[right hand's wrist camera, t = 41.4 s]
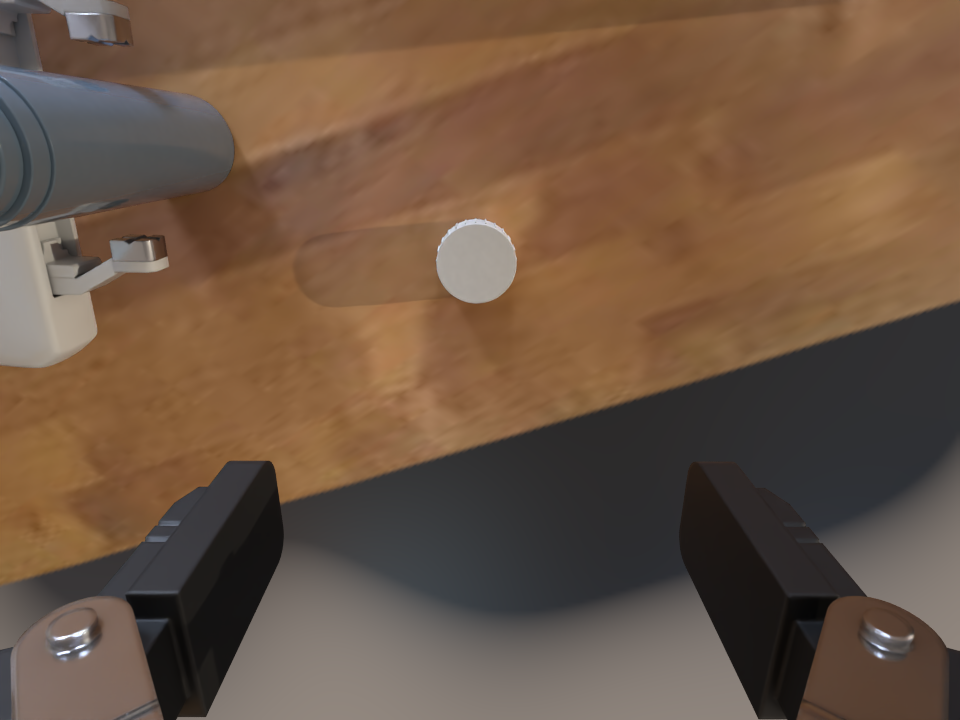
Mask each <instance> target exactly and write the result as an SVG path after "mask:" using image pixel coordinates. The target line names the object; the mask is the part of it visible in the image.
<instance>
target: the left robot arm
mask: <svg viewBox="0 0 960 720" xmlns="http://www.w3.org/2000/svg"><path fill="white" fill-rule="evenodd" d="M51 8H52V9H54V10H55V11H57V12H59V13H60V14H62V15H64V16H66V20H67V25H68V29H69V34H70V38H71V39H73V40H76V41H80V42H87V43H88V44H93V45H97V46H113V45H114V44H115V45H119V46H124V47H131V46H134V45H133V37H132V30H131V23H130V16H129V10H128V7H127V6H124V5H121V4H119V3H116V2H113V1H108V0H0V65H6V66H12V67H19V68H25V69H31V70H38V71H43V68H42V63H41V58H40V53H39V49H38V44H37V39H36V34H35V30H34V25H33V20H32V15H31V14H49V13H50V12H51ZM109 241H110V247H111V254H112V258H111V259H109V260H107V261H105V262H104V263H101V259H100V258H99V257H85V256H82V253H81V248H80V244H79V239H78V234H77V229H76V225H75V220H74V218H69V219H64V220H59V221H54V222H49V223H44V224H39V225H34V226H29V227H24V228H19V229H14V230H8V231H1V232H0V365H2V366H12V367H24V368H43V367H48V366H51V365H54V364H57V363H59V362H62V361H64V360H66V359H68V358H70V357H71V356H73V355H75V354H76V353H78V352H79V351H81V350H82V349H83V348H84V347H85V346H87V345H88V344H89V343H90V342H91V341H92V340H93V339H94V338H95V337H96V335H97V324H96V319H95V315H94V310H93V305H92V301H91V296H90V291H92V290H94V289H97V288H99V287H102V286H104V285H107V284H108V283H110V282H112V281H113V280H115V279H117V278H118V277H120V276H122V275H123V274H125V273H127V272H134V273H150V272H157V271H160V270H162V269H165V268H167V267H169V263H168V256H167V250H166V244H165V238H164V236H163V235H152V236H148V237H147V236H146V235H135V234H130V235H127V236H123V237H122V238H116V239H112V240H109Z"/></svg>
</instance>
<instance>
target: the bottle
mask: <svg viewBox="0 0 960 720" xmlns="http://www.w3.org/2000/svg"><path fill="white" fill-rule="evenodd" d="M233 161H234V142H233V138H232V134H231V132H230V129H229V127H228V125H227V123H226V121H225V120H224V119H223V117H222V116H221V115H220V113H219V112H218V111H217V110H216V109H215V108H214V107H213V106H211V105H210V104H209V103H207V102H206V101H204V100H202V99H200V98H198V97H196V96H193V95H189V94H184V93H177V92H171V91H165V90H158V89H152V88H146V87H139V86H133V85H127V84H120V83H114V82H108V81H101V80H95V79H88V78H82V77H76V76H69V75H63V74H57V73H50V72H44V71H38V70H31V69H25V68H19V67H12V66H6V65H0V232H1V231H8V230H14V229H19V228H24V227H29V226H34V225H39V224H44V223H49V222H54V221H59V220H64V219H69V218H74V217H79V216H84V215H89V214H94V213H100V212H105V211H110V210H115V209H120V208H125V207H130V206H135V205H140V204H145V203H150V202H155V201H160V200H165V199H170V198H175V197H180V196H185V195H190V194H195V193H200V192H205V191H208V190H211V189H213V188H215V187H216V186H218V185H219V184H221V183H222V182H223V181H224V180H225V178H226V177H227V176H228V174H229V172H230V170H231V168H232V165H233Z"/></svg>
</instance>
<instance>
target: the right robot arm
mask: <svg viewBox="0 0 960 720" xmlns="http://www.w3.org/2000/svg"><path fill="white" fill-rule="evenodd" d="M283 538H284V532H283V522H282V515H281V508H280V501H279V494H278V487H277V480H276V473H275V469H274V466H273V464H272V462H270V461H229V462H227V463H226V465H225V466H224V467H223V468H222V470H221V471H220V472H219V474H218V475H217V476H216V477H215V479H214V480H213V481H212V483H211V484H210V485H209V486H208V487H198V488H196V489H195V490H193V491H192V492H190V493H189V494H187V495H186V496H184V497H183V498H181V499H180V500H178V501H177V502H175V503H174V504H173V505H172V506H171V508H170V509H169V510H168V511H167V512H166V514H165V515H164V516H163V517H162V518H161V520H160V521H159V524H158V526H155V527H154V528H153V529H152V530H151V532H150V533H149V534H148V535H147V536H146V538H145V542H141V544H140V545H139V546H138V547H137V548H136V550H135V551H134V552H133V553H132V554H131V556H130V557H129V558H128V559H127V560H126V562H125V563H124V564H123V565H122V566H121V568H120V569H119V570H118V571H117V572H116V574H115V575H114V576H113V577H112V578H111V580H110V581H109V582H108V583H107V584H106V586H105V587H104V588H103V589H102V590H101V592H100V593H99V594H98V595H97V596H96V597H89V598H85V599H81V600H78V601H75V602H72V603H69V604H67V605H64V606H62V607H60V608H58V609H56V610H54V611H52V612H50V613H49V614H47V615H45V616H44V617H42V618H41V619H39V620H38V621H37V622H35V623H34V624H33V625H32V626H31V627H29V628H28V629H27V630H26V631H25V632H24V633H23V634H22V636H21V637H20V638H19V639H18V641H17V642H16V644H15V645H14V647H11V648H7V649H3V650H0V720H176V719H177V717H206V715H207V713H208V711H209V709H210V707H211V705H212V703H213V701H214V699H215V696H216V694H217V692H218V690H219V688H220V686H221V684H222V682H223V679H224V677H225V675H226V673H227V671H228V669H229V667H230V665H231V663H232V660H233V658H234V656H235V654H236V652H237V650H238V648H239V646H240V643H241V641H242V639H243V637H244V635H245V633H246V631H247V629H248V626H249V624H250V622H251V620H252V618H253V616H254V614H255V612H256V610H257V607H258V605H259V603H260V601H261V599H262V597H263V595H264V593H265V590H266V588H267V586H268V584H269V582H270V580H271V578H272V576H273V574H274V572H275V569H276V567H277V565H278V563H279V560H280V557H281V553H282V548H283ZM679 540H680V550H681V555H682V558H683V561H684V564H685V566H686V568H687V570H688V572H689V575H690V577H691V579H692V581H693V583H694V585H695V587H696V589H697V591H698V593H699V595H700V598H701V600H702V602H703V604H704V606H705V608H706V610H707V612H708V614H709V616H710V618H711V621H712V623H713V625H714V627H715V629H716V631H717V633H718V635H719V637H720V639H721V641H722V644H723V646H724V648H725V650H726V652H727V654H728V656H729V658H730V660H731V662H732V664H733V667H734V669H735V671H736V673H737V675H738V677H739V679H740V681H741V683H742V685H743V688H744V690H745V692H746V694H747V696H748V698H749V700H750V702H751V704H752V706H753V708H754V711H755V713H756V715H757V717H758V719H787V720H960V651H957V650H953V649H950V648H946V646H945V644H944V642H943V641H942V639H941V638H940V637H939V636H938V635H937V633H936V632H935V631H934V630H933V629H932V628H931V627H929V626H928V625H927V624H926V623H925V622H923V621H922V620H921V619H919V618H918V617H916V616H915V615H913V614H911V613H910V612H908V611H906V610H904V609H902V608H900V607H898V606H896V605H893V604H891V603H888V602H885V601H882V600H879V599H875V598H871V597H867V596H866V595H865V593H864V592H863V591H862V590H861V589H860V587H859V586H858V585H857V584H856V583H855V582H854V580H853V579H852V578H851V577H850V576H849V574H848V573H847V572H846V571H845V570H844V568H843V567H842V566H841V565H840V564H839V563H838V561H837V560H836V559H835V558H834V557H833V555H832V554H831V553H830V552H829V551H828V549H827V548H826V547H825V546H824V545H823V544H822V543H819V539H818V538H817V536H816V535H815V534H814V533H813V532H812V530H811V529H810V528H809V527H806V526H805V522H804V521H803V520H802V519H801V517H800V516H799V515H798V514H797V513H796V511H795V510H794V509H793V508H792V507H791V505H790V504H788V503H787V502H785V501H784V500H782V499H781V498H779V497H778V496H776V495H775V494H773V493H772V492H770V491H768V490H767V489H765V488H755V487H754V485H753V484H752V483H751V482H750V480H749V479H748V478H747V476H746V475H745V474H744V473H743V471H742V470H741V469H740V468H739V466H738V465H737V464H736V463H734V462H693V463H692V464H691V465H690V467H689V470H688V475H687V482H686V489H685V496H684V503H683V510H682V517H681V524H680V532H679Z"/></svg>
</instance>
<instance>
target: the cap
mask: <svg viewBox="0 0 960 720" xmlns="http://www.w3.org/2000/svg"><path fill="white" fill-rule="evenodd" d="M437 252H438V255H437V258H436V262H437V272H438V276H439V279H440V281H441V283H442V285H443V286H444V287H445V289H446V290H447V291H448V292H449V293H450V294H451V295H453V296H454V297H456V298H457V299H459V300H462V301H464V302H468V303H485V302H489V301H491V300H494V299H496V298H498V297H499V296H500V295H502V294H503V293H504V292H505V291H506V290H507V289H508V288H509V286H510V285H511V283H512V281H513V279H514V276H515V273H516V265H517V262H516V261H517V258H516V255H515V248H514V245H512V243H511V239H510V237H509V236H507V234H506V233H505V232H504V229H503V228H502V229H501V228H500V227H499V226H497V225H496V224H495V223H492V222H490V221H486V219H485V220H481V219H476V218H475V219H471V220H465V221H463V222H461V223H459V224H456V225H455V226H454V227H453V228H451V229H449V230H448V232H447V234H446V235H445V236H444V237H443V238H442V241H441V245H440V246H439V247H438V251H437Z"/></svg>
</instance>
